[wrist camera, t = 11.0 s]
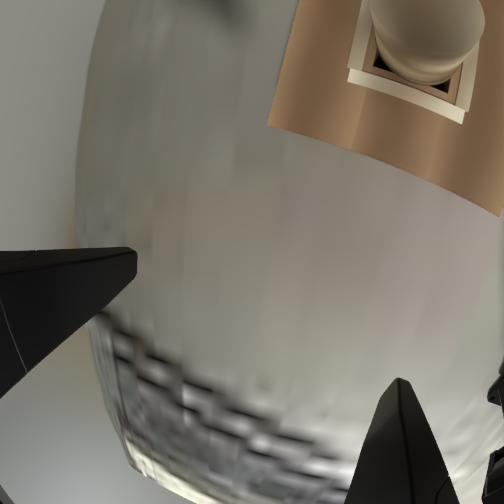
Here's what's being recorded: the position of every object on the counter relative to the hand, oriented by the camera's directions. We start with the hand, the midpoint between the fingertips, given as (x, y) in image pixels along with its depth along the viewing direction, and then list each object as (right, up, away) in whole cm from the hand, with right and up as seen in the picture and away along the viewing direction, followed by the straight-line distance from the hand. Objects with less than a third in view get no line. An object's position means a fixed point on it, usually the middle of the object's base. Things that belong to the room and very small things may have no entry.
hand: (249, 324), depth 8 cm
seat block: (+10, +14, +5) cm, 17 cm away
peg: (+10, +14, +5) cm, 17 cm away
